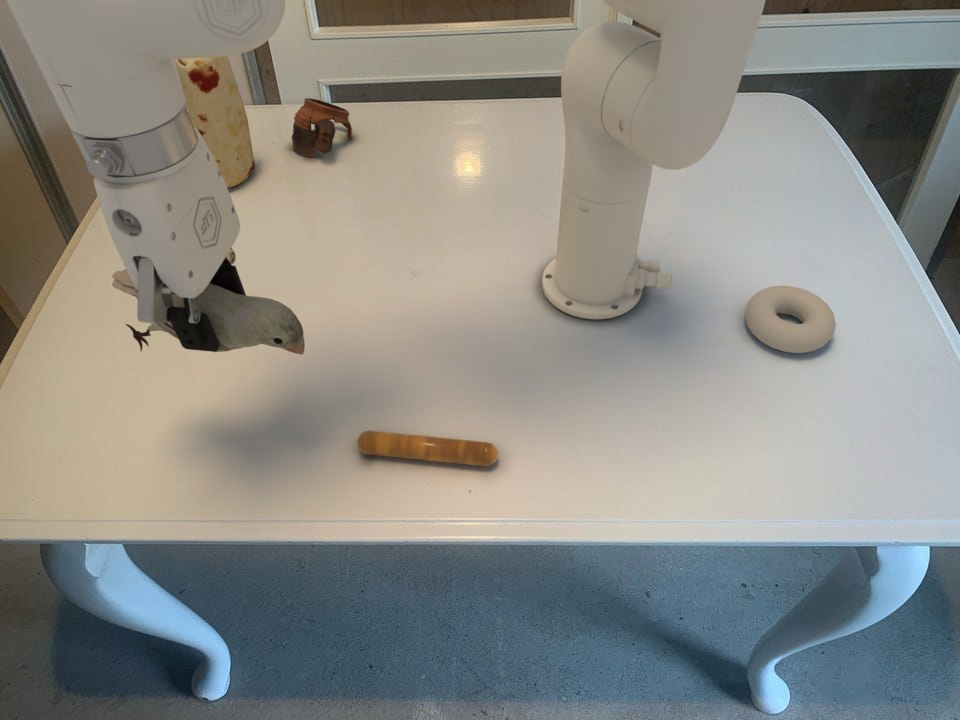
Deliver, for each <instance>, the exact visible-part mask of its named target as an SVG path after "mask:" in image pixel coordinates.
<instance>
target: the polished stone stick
mask: <svg viewBox="0 0 960 720" xmlns="http://www.w3.org/2000/svg"><path fill="white" fill-rule="evenodd" d="M356 445H357V448H358V451H360V452H361V453H363V454H365V455H369V456H380V457H390V458H399V459H400V458H401V459H409V460H420V461H430V462H439V463H449V464H459V465H460V464H461V465H469V466H479V467H490V466H492V465H493V464H495V463H496V462H497V460H498V456H499V452H498V449H497V447H496V446H495V444H494V443H491V442H488V441H479V440H469V439H459V438H448V437H438V436H430V435H429V436H428V435H418V434H410V433H409V434H407V433H397V432H387V431H379V430H378V431H377V430H365V431H363V432H362V433H360V434H359V436H358V438H357V440H356Z"/></svg>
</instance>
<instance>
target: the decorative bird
mask: <svg viewBox="0 0 960 720" xmlns="http://www.w3.org/2000/svg"><path fill="white" fill-rule="evenodd" d="M111 277H112V279H113V281H112V284H111V285H112V286H111V287H113V288H115V290H119V291H121V292H124V294H128V295H130V296H133V297H135V298H136V300H137V301H138V288H137V287H136V285H135V284H134V282H133V281H132V279H131V277H130V276H129V274H128V272H127V270H126V268H125V269H123V270H116V271H115V272H113V274H112V275H111ZM197 297H198V302H199V308H200V313H205V314H207V316H208V318H209V320H210V323H211V325H212V327H213V330H214V332H215V334H216V337H217V339H218V341H219V344H220V347H219V349H218V351H217V352H216V353H222V352H230V351H233V350H240V349H243V348H250V347H251V348H252V347H257V346H259V345H264V346H267V347H268V346H269V347H273V348H280V349H282V350H284V351H287V352H289V353H293V354H296V355H304V353H305V348H306V347H305V346H306V345H305V336H304V328H303V325H302V323H301V321H300V320H299V318H298V317H297V315H296V314H295V313H294V312H293V310H292V309H291V308H290V307H288V306H287V305H285V304H284V303H282V302H280V301H278V300H275V299H272V298H268V297H262V296H255V295H246V296H245V295H240V294H236V293H233V292H231V291H229V290H226V289H224V288H222V287H219V286H217V285H214V284H211V283H209V284H208V285H207V287H206V288H205V289H204V291H203V292H202V293H201V294H200V295H198V296H197ZM172 299H173V304H174V307H184V308H185V306H184V301H183V298H181V297H179V296H177V295H175V294H172ZM150 324H151V325H148V327H147V329H146V331H144V332H141V331H140V330H137V329H135V328H134V327H133V326H132V325H131V324H127V323H124V325H125V326H126V327H128V328H129V329H130V331H131V332H132V337H133V339H135V340H136V342H137V344H138V345H139V348H140V352H142V351H143V343H144V344H145V345H146V346H147V347H148V348H149V345H150V344H149V343H148V340H147V339H146V338H145V337H150V336H152V334H151V332H155V331H157V332H164V333H168V334H169V335H171V336H172V337H173V338H175V339H177V340H179V339H178V337H177V335H176V333H175V330H174V328H173V326H172V324H171V322H167V323H158V324H155V323H150Z"/></svg>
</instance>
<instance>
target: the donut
mask: <svg viewBox="0 0 960 720" xmlns="http://www.w3.org/2000/svg"><path fill="white" fill-rule="evenodd" d="M744 314H745V317H744V318H745V323H746V325H747V327H748V329H749V331H750V332H751V334H752V335H754V336H755V337H756V338H757V339H758V341H760V342H761V343H762V344H765V345H767V346H768V347H770V348H772V349H774V350H778V351H780V352H784V353H793V354H804V353H812V352H814V351H817V350H819V349H821V348H823V347H825V346H826V344H828V343H829V342H830V340H832V338H833V337H834V333H835V330H836V327H837V323H836V318H835V313H834V311H833V310H832V309H831V307H830V306H829V305H828V303H827V302H826V301H824V300H823V299H822V298H821V297H820V296H818V295H817V294H815V293H813V292H811V291H810V290H808V289H803V288H800V287H798V286H792V285H776V286H775V285H773V286H768V287H766V288H763V289H761V290H759V291H758V292H756V293H755V294H754V295H753V296H752V297H750V299H749V300H748V302H747V304H746V307H745V310H744ZM777 314H785V315H789V316H793V317H795V318H796V319H799V321H801V322H802V323H792V322H789V321H787V320H784V319H782V318H781V317H779V316H778V315H777Z"/></svg>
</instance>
